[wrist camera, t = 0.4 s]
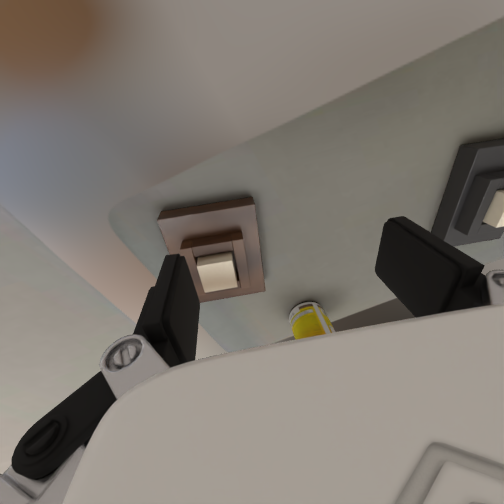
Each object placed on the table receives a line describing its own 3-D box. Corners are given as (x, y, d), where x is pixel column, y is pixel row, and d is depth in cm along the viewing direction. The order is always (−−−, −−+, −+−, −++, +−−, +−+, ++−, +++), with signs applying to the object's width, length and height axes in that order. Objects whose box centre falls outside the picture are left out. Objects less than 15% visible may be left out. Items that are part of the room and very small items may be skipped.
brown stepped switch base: (161, 211, 26) (152, 228, 22) (252, 196, 26) (257, 211, 22) (190, 293, 32) (187, 315, 29) (262, 280, 32) (268, 301, 29)
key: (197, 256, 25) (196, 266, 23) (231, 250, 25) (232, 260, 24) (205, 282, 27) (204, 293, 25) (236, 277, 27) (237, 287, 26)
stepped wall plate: (460, 145, 26) (496, 151, 22) (530, 134, 26) (576, 139, 22) (428, 240, 32) (452, 256, 29) (484, 230, 32) (515, 245, 29)
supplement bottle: (282, 321, 37) (301, 387, 29) (298, 296, 35) (324, 360, 26) (311, 327, 39) (338, 391, 31) (329, 304, 37) (363, 366, 28)
